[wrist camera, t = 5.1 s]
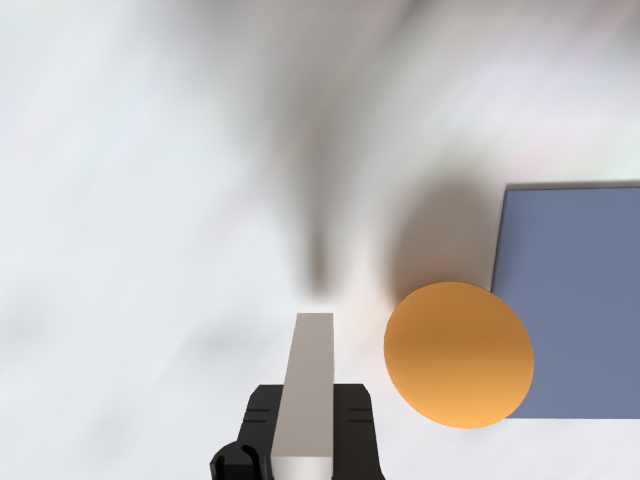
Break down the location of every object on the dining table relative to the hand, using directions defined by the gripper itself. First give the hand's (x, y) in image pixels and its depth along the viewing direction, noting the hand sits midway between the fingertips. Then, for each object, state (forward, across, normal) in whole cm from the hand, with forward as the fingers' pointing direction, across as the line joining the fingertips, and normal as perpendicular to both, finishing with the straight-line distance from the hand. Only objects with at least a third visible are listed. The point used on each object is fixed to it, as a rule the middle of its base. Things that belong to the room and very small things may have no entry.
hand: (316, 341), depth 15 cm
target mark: (+2, +14, 0) cm, 14 cm away
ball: (-1, +6, 0) cm, 6 cm away
